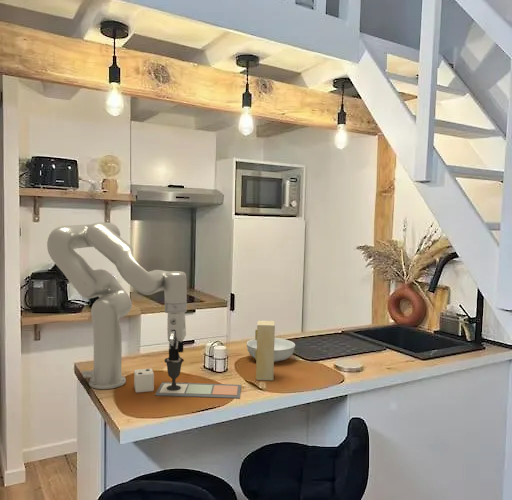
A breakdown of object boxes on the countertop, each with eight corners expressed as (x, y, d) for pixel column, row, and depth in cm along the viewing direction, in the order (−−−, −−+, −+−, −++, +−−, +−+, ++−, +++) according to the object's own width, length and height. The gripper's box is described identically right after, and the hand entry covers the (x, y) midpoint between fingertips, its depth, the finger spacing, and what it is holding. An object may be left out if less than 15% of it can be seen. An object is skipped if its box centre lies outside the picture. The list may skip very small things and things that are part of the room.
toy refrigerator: (254, 373, 188) (256, 320, 186) (273, 373, 188) (275, 320, 186) (253, 380, 180) (255, 324, 178) (273, 380, 180) (275, 325, 178)
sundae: (179, 392, 164) (180, 349, 163) (161, 390, 166) (161, 347, 164) (186, 385, 171) (187, 344, 169) (168, 383, 172) (169, 342, 171)
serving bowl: (304, 359, 207) (305, 343, 207) (272, 370, 192) (272, 353, 191) (268, 349, 221) (269, 334, 221) (235, 358, 206) (236, 342, 206)
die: (135, 392, 164) (136, 375, 164) (134, 386, 170) (134, 369, 169) (153, 390, 166) (153, 373, 166) (151, 384, 172) (151, 368, 171)
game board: (154, 395, 162) (154, 394, 162) (162, 382, 174) (162, 381, 174) (239, 398, 162) (239, 397, 162) (241, 385, 174) (241, 384, 174)
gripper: (182, 312, 157) (183, 363, 158) (190, 302, 174) (190, 349, 176) (159, 312, 157) (160, 363, 158) (169, 302, 174) (170, 349, 176)
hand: (176, 356), depth 167 cm, fingers open, 9 cm apart
